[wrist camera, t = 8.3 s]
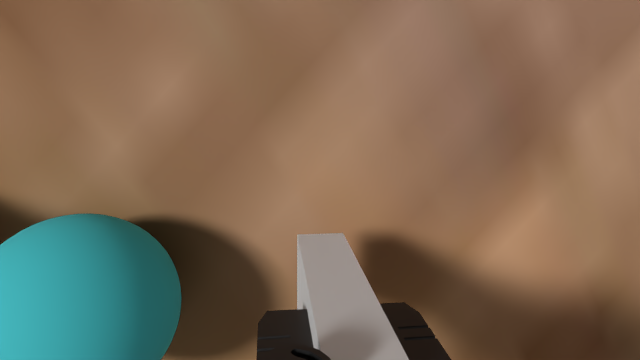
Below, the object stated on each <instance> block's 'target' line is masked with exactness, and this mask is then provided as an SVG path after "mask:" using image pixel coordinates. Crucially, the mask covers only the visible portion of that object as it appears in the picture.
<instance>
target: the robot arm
mask: <svg viewBox="0 0 640 360" xmlns="http://www.w3.org/2000/svg"><path fill="white" fill-rule="evenodd" d="M257 360H451V359H450V357H449V356H448V354H447V353H446V351H445V350H444V348H443V347H442V345H441V344H440V343H439V341H438V340H437V339H435V335H434V334H433V332H432V331H431V329H430V328H428V325H427V323H426V322H425V320H424V319H423V317H422V316H421V314H420V313H419V312H418V311H416V310H415V309H413V308H412V307H410V306H409V305H407V304H406V303H404V302H402V303H383V304H380V303H379V301H378V299H377V297H376V296H375V294H374V292H373V290H372V288H371V286H370V284H369V282H368V280H367V278H366V276H365V274H364V272H363V271H362V269H361V267H360V265H359V263H358V261H357V259H356V257H355V255H354V253H353V251H352V249H351V248H350V246H349V244H348V242H347V240H346V238H345V236H344V234H343V233H333V234H300V235H297V310H278V311H267V312H266V313H265V315H264V316H263V317H262V319H261V320H260V321H259V323H258V340H257Z"/></svg>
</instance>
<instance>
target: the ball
mask: <svg viewBox="0 0 640 360" xmlns="http://www.w3.org/2000/svg"><path fill="white" fill-rule="evenodd" d="M181 299H182V298H181V287H180V281H179V277H178V273H177V271H176V268H175V266H174V264H173V262H172V259H171V258H170V256H169V254H168V253H167V251H166V250H165V249H164V248H163V246H162V245H161V244H160V243H159V242H158V241H157V240H156V239H155V238H154V237H153V236H152V235H150V234H149V233H148V232H147V231H145V230H143V229H142V228H140V227H139V226H137V225H135V224H132V223H130V222H128V221H125V220H122V219H119V218H116V217H112V216H107V215H100V214H73V215H65V216H60V217H55V218H51V219H48V220H45V221H42V222H39V223H36V224H34V225H32V226H30V227H28V228H26V229H23V230H22V231H20V232H18V233H17V234H15V235H14V236H12V237H10V238H9V239H7V240H6V241H4V242H3V243H2V244H1V245H0V360H161V359H162V357H163V356H164V354H165V353H166V351H167V349H168V348H169V346H170V344H171V342H172V339H173V337H174V334H175V331H176V329H177V326H178V322H179V317H180V311H181Z"/></svg>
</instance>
